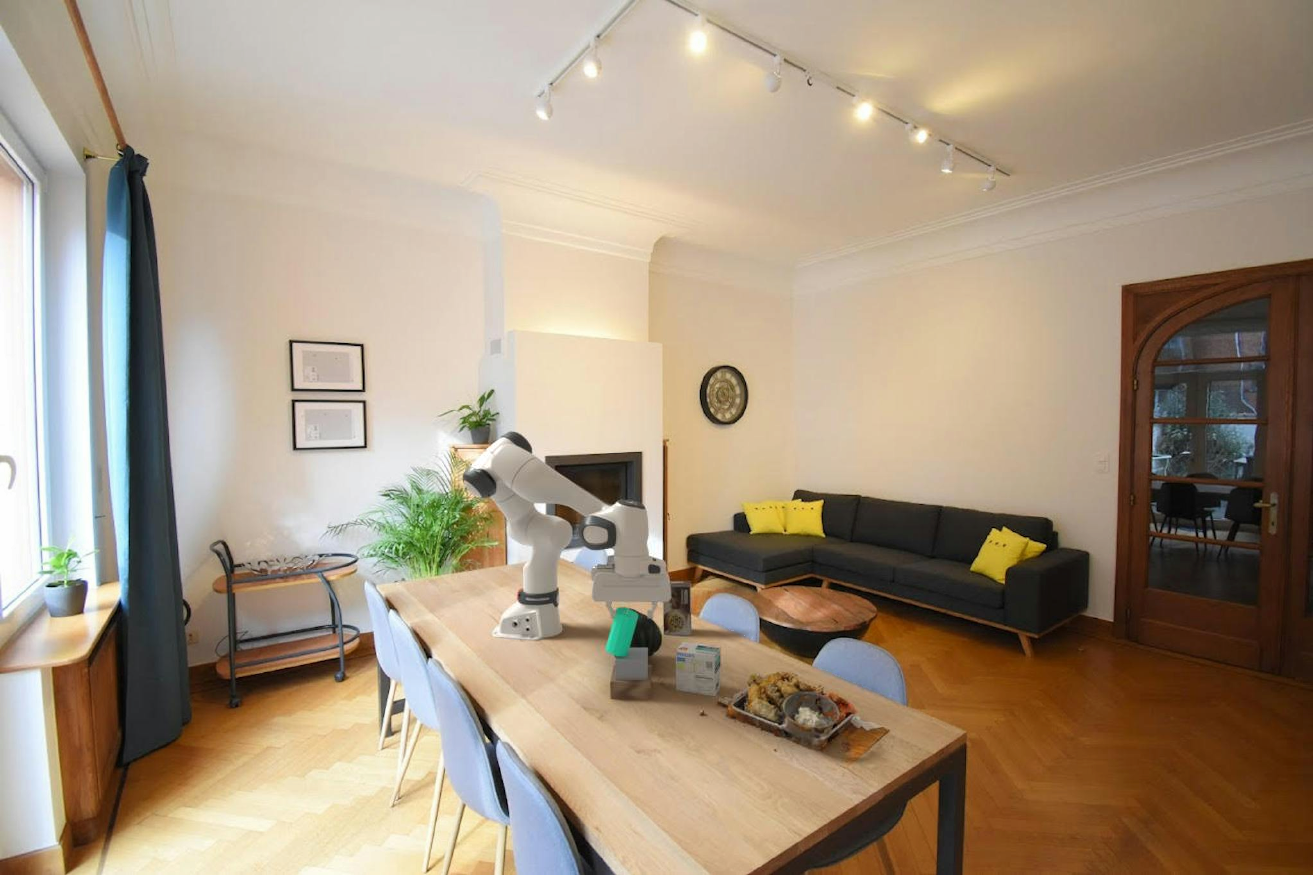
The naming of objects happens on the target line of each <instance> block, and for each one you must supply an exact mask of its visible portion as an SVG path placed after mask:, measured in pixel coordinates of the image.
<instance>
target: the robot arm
mask: <svg viewBox="0 0 1313 875" xmlns="http://www.w3.org/2000/svg"><path fill="white" fill-rule="evenodd" d="M462 482H463V484H464V486H465V488H466V490H467V491H468V493H470V494H471V495H473V496H475V497H476V498H479V499H482V500H483V499H484V500H486V499H489V498H490V499H491V501H493V503H494V504H495V505H496V506H497V508H498V509H499V511H500V512H501V513H502V514H503V515H504V517H505V519H506V520H507V523H508V524H507V533H508V535H509V537H510V538H511V539H512V540H513V541H515V542H517V543H519V544H521V545H523V546H528V547H532V552H531V556H530V559H529V560H527V561H526V562H525V564H524V565H523V568H522V583H523V584H522V586H520V588H519V589H518V591H517V594H516V601H515V602H514V603H513V604H511V605H510V606H509V607H508V608H507V609H506V610H505V611H504V612H503V613H502V614H501V617H500V619H499V620H500V621H499V624H498V625H496V627H495V628H493V630H492V632H491V633H492V637H493V638H495V639H497V638H498V639H508V640H517V641H518V640H520V641H527V642H528V641H529V642H530V641H532V642H538V641H541V640H542V639H547V638H551V637H555V636H557V635H559V634H561V633H562V632H563V631H564V630H563V629H564V628H563V626H562V625H563V624H562V621H561V616H560V610H559V605H560V591H559V590H560V589H559V587H558V568H559V567H558V566H559V561H560V558H561V555H562V552H563V551H564V550H565V549H566V548H567V547H568V546H569V545H570V543H571V541H572V538H573V527H572V525H571V523H570V522H569V521H568V520H566V519H564V518H562V517H559V516H557V515H552V514H551V515H550V514H544V513H542V512H540V511H539V510H538V509H537V508H536V506H535V504H549V505H550V504H552V505H554V504H557V505H562V506H566V507H569V508H571V509H573V511H576V512H577V513H579V514H580V515H582V516H584V518H582V519H581V521H580V523H579V525H578V528H577V529H578V531H577V532H578V534H577V535H578V538H579V540H580V543H581V544H582V545H583V547H585V548H586V549H588V550H591V551H603V550H609V549H612V550H613V561H614V562H613V563H610V564H609V563H608V564H607V563H606V564H602V563H599V564H596V565H594V566H592V568H591V570H590V579H591V581H592V587H591V588H592V589H591V599H592V600H593V601H594V602H596V603H597V602H599V603H602V602H605V607H606V608H607V610H608V612H609V615H610V616H609V618H610V619H611V620H612V619H613V620H614V618H615V615H616V609H614V608H613V607H612V602H613V603H615V602H619V603H620V602H621V603H623V602H624V603H627V602H628V603H629V602H630V603H631V602H632V603H634V602H635V603H641V602H642V603H644V602H645V603H651V606H652V607H651V609H647V619H652V620H654V613H655V611H656V609H657V607H658V603H659V602H661V603H663V602H668V601H669V600H670V599H671V585H670V581H671V580H670V576H669V573H668V572H667V564H666V560H663V559H661V558H658V557H653V556H651V555H649V554H650V551H649V547H648V539H649V534H650V532H649V529H650V528H649V516H648V511H647V508H646V506H645V505H644V504H642V503H641V502H640V501H637V500H632V499H619V500H617V501H616V502H615V503H614V504H611V503H608V502H606V501H605V500H602V499H601V498H600V497H597V496H596V495H594V494H592V493H591V492H590V491H588V490H587V489H585V488H584V487H582V486H580V485H578V484H577V483H575V482H573V481H572V480H570V479H569V478H567V477H565V476H564V475H562V474H560V473H559V472H558V471H557V470H555V469H553V468H552V467H551V466H549V465H548V464H547V463H546V462H544V461H543V460H541V459H540V458H539V457H537V456H536V455H535V454H533V446H532V445H531V443H530V442H529V441H528V439H527V438H526V437H524V436H523V435H522V434H521V433H520V432H518V431H510V430H509V431H508V432H506V433H504V434H502V435H501V436H500V438H498V440H496V441H494V442H493V443H492V444H490V445H489V446H488V447H487V448H486V449H485V450H484V451H483V453H481V454H480V455H479V456H478V457H477V459H475V460H474V462H473V463H472V464H471V465H469V466H468V467H467V468H466V469H465V471H464V472H463V474H462Z"/></svg>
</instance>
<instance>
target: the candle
mask: <svg viewBox="0 0 1313 875" xmlns="http://www.w3.org/2000/svg"><path fill="white" fill-rule="evenodd" d="M629 608H630V607H627V606H621V607H620V606H619V607H616V609H615V610H616V615H615V618H614V619H613V621H612V624H611V627H610V628H611V629H610V632H609V634H608V638H607V642H606V645H605V651H606V652H607V653H609V654H611V655H613V656H614V655H615V656H620V657H624V656H627V655H628V651H629V648H630V644H631V641H632V637H633V633H634V630H635V626H636V623H637V619H638V614H637V613H636V612H634V611H633V610H631V609H632V608H631V609H629ZM615 656H614V657H615Z"/></svg>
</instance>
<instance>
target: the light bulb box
mask: <svg viewBox="0 0 1313 875" xmlns="http://www.w3.org/2000/svg"><path fill="white" fill-rule="evenodd" d="M721 651H722V650H721V645H712V644H702V643H692V642H686V641H682V642H681V644H680V645H679V646H678V647H677V649H676V650H675V690H676V691H681V692H686V693H692V694H699V695H704V696H712V697H716V696H717V694H718V692H719V691H720V688H721V687H722V655H721V654H722V653H721Z"/></svg>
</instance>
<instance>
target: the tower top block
mask: <svg viewBox="0 0 1313 875" xmlns="http://www.w3.org/2000/svg"><path fill="white" fill-rule="evenodd" d="M614 662H615V663H614V665H615V680H647V679H648V665H649V657H648V648H629V651H628V655H627V656H624V657H620V656H616V658H615V661H614Z"/></svg>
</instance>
